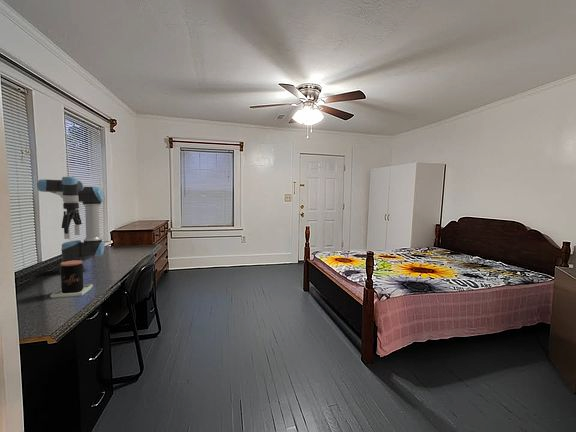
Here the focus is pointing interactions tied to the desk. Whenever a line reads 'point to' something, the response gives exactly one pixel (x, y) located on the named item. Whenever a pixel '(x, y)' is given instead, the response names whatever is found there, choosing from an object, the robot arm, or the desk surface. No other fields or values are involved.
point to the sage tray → (81, 293)
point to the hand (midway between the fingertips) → (72, 236)
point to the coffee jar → (71, 276)
